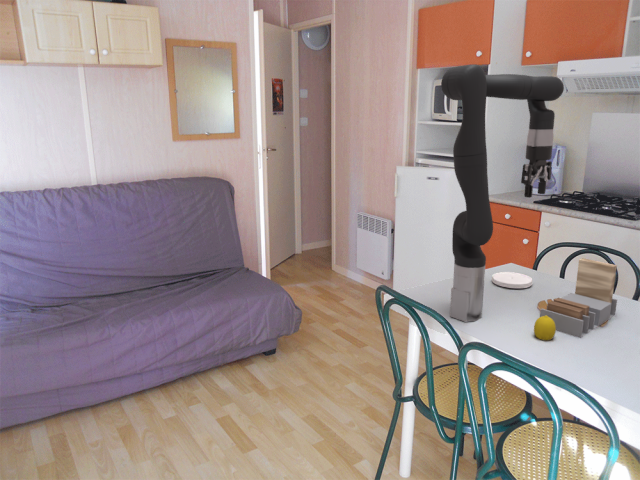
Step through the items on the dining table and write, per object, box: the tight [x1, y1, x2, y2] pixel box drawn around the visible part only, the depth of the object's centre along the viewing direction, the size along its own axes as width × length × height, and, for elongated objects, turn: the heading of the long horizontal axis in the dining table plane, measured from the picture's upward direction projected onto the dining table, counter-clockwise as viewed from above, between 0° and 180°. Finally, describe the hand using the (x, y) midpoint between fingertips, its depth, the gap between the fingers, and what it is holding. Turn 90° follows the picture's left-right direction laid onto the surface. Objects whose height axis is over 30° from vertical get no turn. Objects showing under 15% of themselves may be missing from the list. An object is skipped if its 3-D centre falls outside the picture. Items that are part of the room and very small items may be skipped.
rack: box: [539, 292, 618, 339], centre depth 154 cm, size 24×12×6 cm, turn 131°
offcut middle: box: [553, 297, 589, 316], centre depth 150 cm, size 2×9×7 cm, turn 41°
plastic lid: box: [491, 271, 533, 289], centre depth 190 cm, size 14×14×2 cm
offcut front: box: [546, 300, 583, 320], centre depth 148 cm, size 2×9×7 cm, turn 41°
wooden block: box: [574, 258, 618, 303], centre depth 158 cm, size 2×10×16 cm, turn 40°
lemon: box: [533, 315, 557, 341], centre depth 143 cm, size 6×6×8 cm
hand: (534, 195), depth 164 cm, fingers open, 8 cm apart
